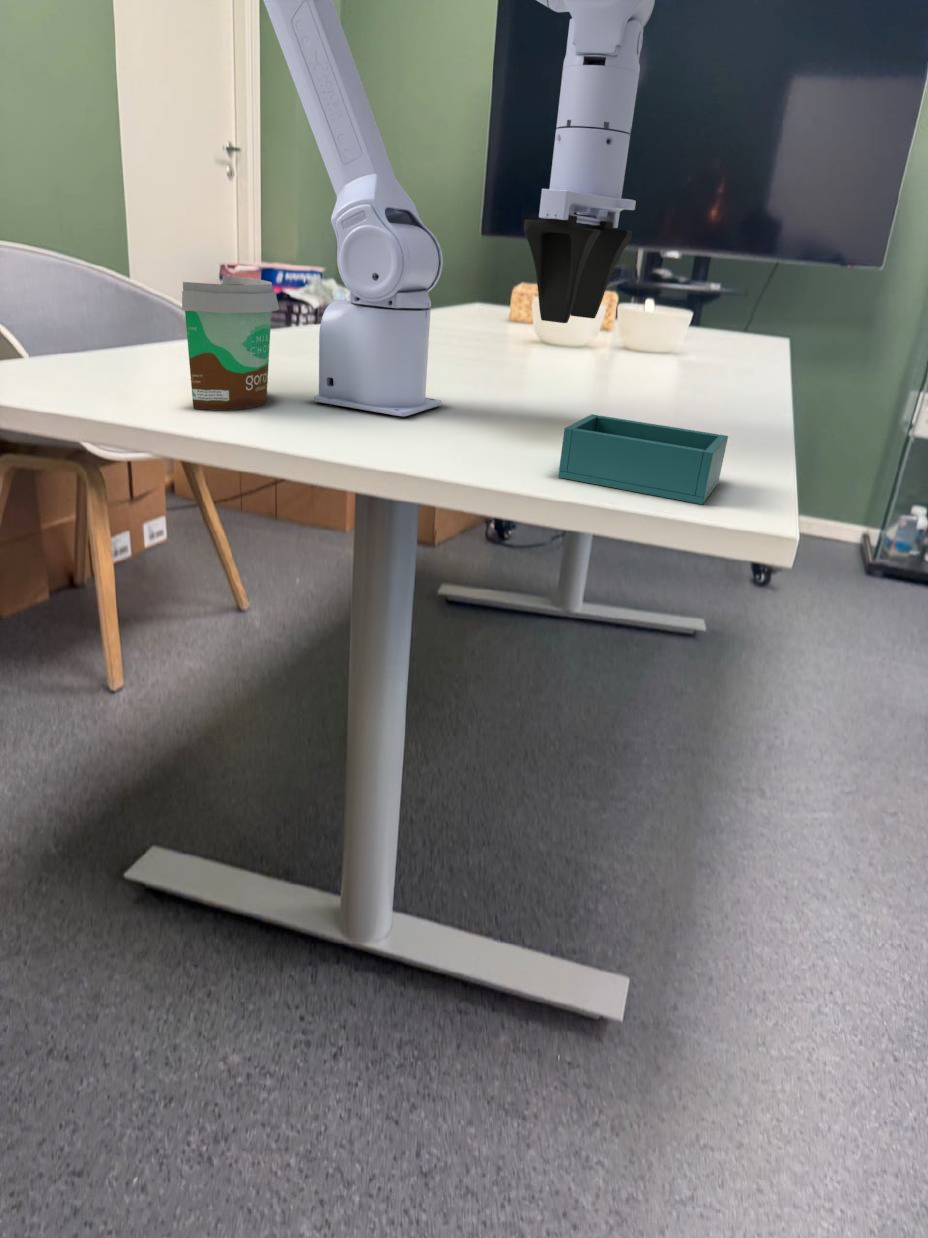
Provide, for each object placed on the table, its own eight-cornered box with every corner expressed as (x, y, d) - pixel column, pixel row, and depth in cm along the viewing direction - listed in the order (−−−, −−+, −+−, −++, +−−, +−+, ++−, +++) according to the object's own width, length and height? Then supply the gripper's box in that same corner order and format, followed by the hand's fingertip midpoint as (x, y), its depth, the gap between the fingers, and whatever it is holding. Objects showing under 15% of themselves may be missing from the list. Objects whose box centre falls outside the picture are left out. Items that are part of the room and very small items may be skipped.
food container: (262, 418, 70) (259, 288, 66) (187, 411, 70) (180, 281, 66) (292, 392, 81) (292, 280, 77) (228, 387, 81) (224, 274, 77)
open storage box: (557, 477, 60) (564, 428, 59) (585, 459, 66) (591, 413, 64) (702, 504, 57) (713, 452, 55) (718, 483, 62) (728, 435, 61)
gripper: (618, 120, 58) (589, 330, 63) (665, 146, 70) (637, 320, 75) (521, 117, 60) (502, 318, 66) (583, 142, 72) (562, 311, 78)
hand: (569, 319), depth 71 cm, fingers open, 7 cm apart
